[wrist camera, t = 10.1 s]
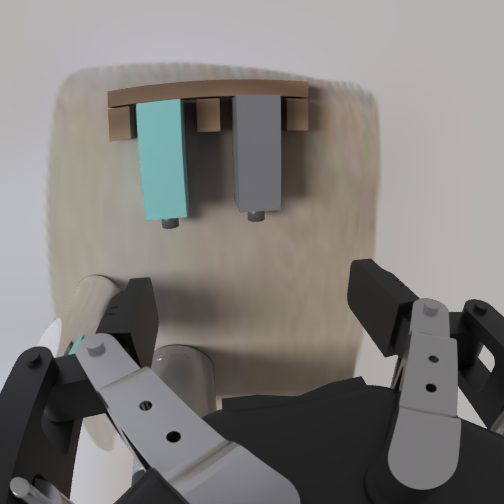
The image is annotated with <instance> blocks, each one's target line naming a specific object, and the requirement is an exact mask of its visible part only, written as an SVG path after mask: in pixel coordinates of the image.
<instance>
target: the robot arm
mask: <svg viewBox="0 0 504 504" xmlns="http://www.w3.org/2000/svg"><path fill="white" fill-rule="evenodd" d="M347 300H348V305H349V307H350V309H351V310H352V312H353V313H354V315H355V316H356V317H357V319H358V320H359V321H360V323H361V324H362V326H363V327H364V328H365V330H366V331H367V333H368V334H369V335H370V337H371V338H372V340H373V341H374V342H375V344H376V345H377V347H378V348H379V349H380V351H381V352H382V354H383V355H384V357H389V356H393V355H398V359H397V362H396V366H395V370H394V375H393V379H392V383H391V387H390V388H388V387H382V386H374V385H366V383H365V381H364V380H363V378H362V377H361V376H360V377H356V378H352V379H347V380H343V381H338V382H333V383H329V384H327V385H325V386H322V387H320V388H317V389H315V390H313V391H310V392H308V393H305V394H303V395H300V396H271V395H252V396H243V397H233V398H222V408H223V409H221V410H217V406H216V395H215V382H214V371H213V365H212V363H211V361H210V360H209V358H208V357H207V356H206V355H204V354H203V353H202V352H200V351H198V350H196V349H194V348H191V347H187V346H182V345H172V346H166V347H162V348H159V349H158V350H156V351H154V348H155V342H156V337H157V331H158V313H157V308H156V303H155V298H154V293H153V288H152V283H151V280H150V278H149V277H148V278H134V279H130V281H129V283H128V286H127V288H126V290H125V292H118V293H117V294H116V295H115V296H114V297H113V298H111V300H110V302H109V304H108V306H107V309H106V310H105V312H104V315H103V317H102V319H101V321H100V324H99V326H98V328H97V330H96V333H95V334H93V335H90V336H88V337H86V338H84V339H83V340H81V341H80V342H79V343H78V345H77V346H76V349H75V353H74V354H71V355H66V356H61V357H57V358H54V356H53V354H52V352H51V350H50V349H49V348H47V347H43V346H37V347H33V348H30V349H28V350H26V351H24V352H23V353H22V354H21V355H20V356H19V357H18V359H17V361H16V363H15V364H14V367H13V368H12V370H11V372H10V374H9V377H8V378H7V380H6V382H5V385H4V387H3V389H2V391H1V393H0V504H74V503H73V502H72V501H70V492H71V483H72V477H73V470H74V464H75V457H76V452H77V446H78V441H79V435H80V430H81V426H82V421H83V418H84V417H89V416H94V415H98V414H103V413H104V414H105V415H106V417H107V418H108V420H109V421H110V423H111V424H112V426H113V427H114V429H115V430H116V432H117V433H118V435H119V436H120V437H121V439H122V440H123V442H124V443H125V444H126V445H127V447H128V448H129V450H130V451H131V453H132V454H133V456H134V463H133V476H132V485H131V488H129V489H128V490H127V491H126V492H125V493H124V494H123V495H122V496H121V497H120V498H119V499H118V500H117V501H116V502H115V503H114V504H504V317H503V316H502V315H501V314H500V313H499V312H498V311H497V310H495V309H494V308H493V307H492V306H491V305H489V304H488V303H486V302H484V301H481V300H476V299H472V300H468V301H466V303H465V305H464V308H463V311H462V312H449V311H448V309H447V307H446V306H445V305H444V304H442V303H441V302H439V301H436V300H433V299H428V298H424V299H419V297H417V296H416V295H415V294H414V293H413V292H412V291H411V290H410V289H409V288H408V287H407V286H405V285H404V284H403V283H402V282H401V281H399V279H398V278H397V277H396V276H395V275H393V274H392V273H390V272H388V271H386V270H384V269H382V268H381V267H380V266H378V265H377V264H376V263H375V262H374V261H373V260H372V259H361V260H354V261H352V263H351V268H350V276H349V284H348V292H347ZM483 345H485V346H486V348H487V349H488V350H489V351H490V352H491V353H492V354H493V356H494V359H495V366H494V368H493V370H492V372H490V371H489V370H488V369H487V368H486V366H485V365H484V364H483V363H482V362H481V361H480V359H479V358H478V356H479V354H480V352H481V350H482V347H483ZM458 386H459V388H460V389H461V390H462V392H463V393H464V395H465V396H466V398H467V399H468V401H469V402H470V403H471V405H472V406H473V408H474V409H475V411H476V412H477V414H478V415H479V417H480V418H481V420H482V421H483V423H484V424H485V426H486V427H487V429H486V428H483V427H481V426H478V425H476V424H474V423H471V422H469V421H466V420H464V419H461V418H459V417H458V416H457V394H458Z"/></svg>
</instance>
